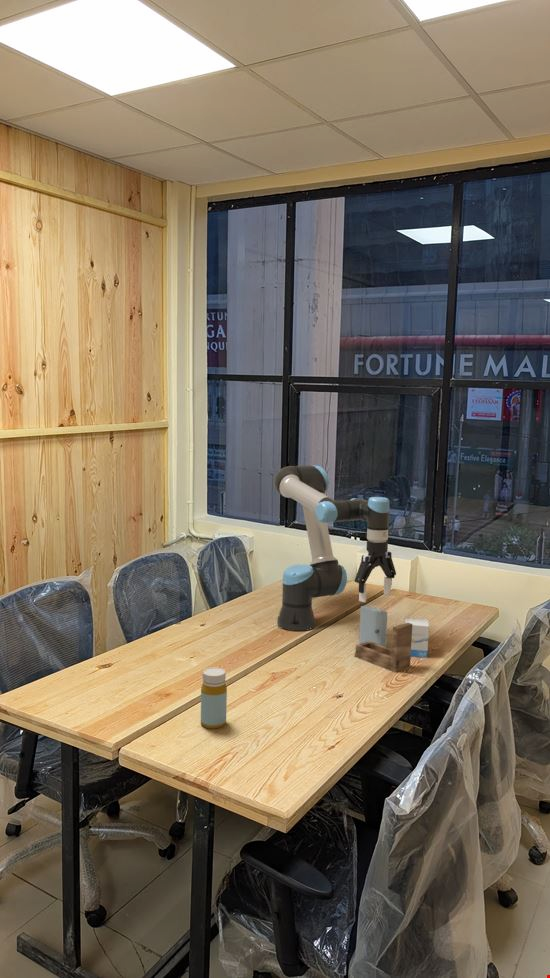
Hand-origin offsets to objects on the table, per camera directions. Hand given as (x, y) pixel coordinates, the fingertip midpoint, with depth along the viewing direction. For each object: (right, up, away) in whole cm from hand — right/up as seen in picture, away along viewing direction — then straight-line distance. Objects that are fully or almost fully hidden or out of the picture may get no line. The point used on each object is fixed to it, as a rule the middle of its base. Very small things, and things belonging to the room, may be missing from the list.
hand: (374, 598), depth 256 cm
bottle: (-53, -25, -61) cm, 85 cm away
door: (-1, -18, +3) cm, 18 cm away
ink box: (+14, -19, -3) cm, 24 cm away
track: (+1, -20, -12) cm, 23 cm away
